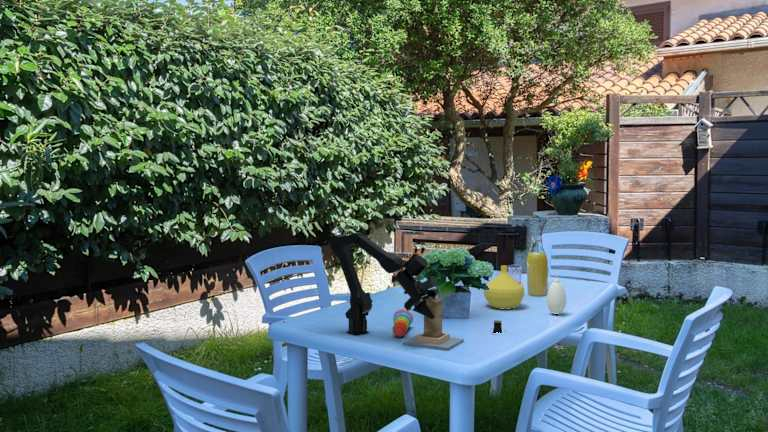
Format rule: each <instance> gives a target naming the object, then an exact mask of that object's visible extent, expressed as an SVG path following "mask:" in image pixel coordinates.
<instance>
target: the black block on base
mask: <svg viewBox="0 0 768 432" xmlns="http://www.w3.org/2000/svg"><path fill="white" fill-rule="evenodd" d="M502 322H503V321H502V320H496V319H495V320H493V328H492V329H493V332H492V333H496V332H498V333H499V332H500V333H502V329H503V325H502Z"/></svg>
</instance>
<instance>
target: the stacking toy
mask: <svg viewBox="0 0 768 432" xmlns="http://www.w3.org/2000/svg"><path fill="white" fill-rule="evenodd" d="M392 319H393V329H392V332H393V334H394V335H395V337H397V338H403V337H405V335H406V334H407V330H408V329H409V327H410V326H411V325H412V323H413V321H414V314H413V313H412V311H411V310H409V311H407V310H406V309H405V308H404V307H401V308H398V309H396V310H395V312H394V314H393V318H392Z"/></svg>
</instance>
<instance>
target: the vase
mask: <svg viewBox="0 0 768 432" xmlns="http://www.w3.org/2000/svg"><path fill="white" fill-rule="evenodd" d="M485 285H487V286H488V288H489V290H484V289H483V295H484V297H485V299H486V302H487V303H488V304H489V305H490V306H491V307H492V308H493V307H495V308H494V309H496V308H513V309H515V308H517V307H518V306H519V305H521V302H522V301H523V299H524V296H525V287H524V285H523V284H521V283H520V282H518V280H516V279H515V278H513V276H511V275H510V273H509V272H508V265H503V264H502V265H500V272H499V274H498V275H497V276H496V277H493V279H491V280H490V281H489V282H488V283H485ZM514 307H515V308H514Z"/></svg>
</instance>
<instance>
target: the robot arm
mask: <svg viewBox="0 0 768 432" xmlns="http://www.w3.org/2000/svg"><path fill="white" fill-rule="evenodd" d="M354 244H355V245H356V246H357V247H359V248H361V250H363V251H364V252H366V253H367V254H368V255H370V256H371V257H373V258H374V259H375V260H376V261H377V262H378V264H379V266H380V267H381V268H382V269H383V270H384V271H385V272H386V273H387V274H394V273H396V274H394V275H391V280H390V281H391V282H390V283H391V284H395V283H397V284H399V285H400V287H401V288H402V289H403V290H404V291H403V294H404V295H407V296H409V299H407V300H406V302H404V304H403V308H405V309H406V310H407V311H409V310H410V311H411V310H412V311H413V312H416V313H418V314H420V315H422V316H423V317H424V316H426V317H428V318H430V319H433V318H434V316H433V314H432V313H431V311H430V310H429V308H428V307H427V305H426V299H428V298H437V296H438V295H439V294H440V291H439V290H438V288H436V287H438V285H437V282H438V280H437V279H436V278H435V277H434V276H429V277H427V278H426V280H425V281H421V280H417V279H416V278H415V277H419V276H420V275H421V274H422V273H423V271H425V270H426V269H427V268H428V267H429V263H428V261H427V259H426V258H424V256H421V255H419V254H418V253H417V252H415V253H412V255H411V256H410V258H408V260H405V259H403V258H402V257H400V256H399V255H396V254H395V253H393V252H389V251H387V250H385V249H383V248H382V247H380V246H379V245H378V244H376V242H374V241H373V240H371V239H370V238H368V237H367V236H365V234H364V233H362V232H361V231H360V232H353V233H351V234H348V235H346V234H337V235H332V236H331V237H329V241H328V246H329V248H330V250H331V252H332V254H333V255H335V258H337V259H338V261H339V264H340V267H341V271H342V273H343V275H344V278H345V281H346V284H347V287H348V290H349V293H350V295H349V306H350V307H349V309H348V310H346V311H345V317H346V319H347V320H348V330H346V333H349V334H351V335H354V336H357V335H363V334H369V331H368V320H367V316H369V312H370V311H371V310H372V308H373V300H372V298H371V294H370V292H369V291H368V292H366V291H364V290H363V288H362V287H363V286H362V284H361V281H360V278H359V277H358V273H357V270H356V268H355V263H354V262H353V258H352V256H351V253H352V245H354ZM402 269H403V270H402ZM412 307H413V308H412ZM412 311H411V312H412Z"/></svg>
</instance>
